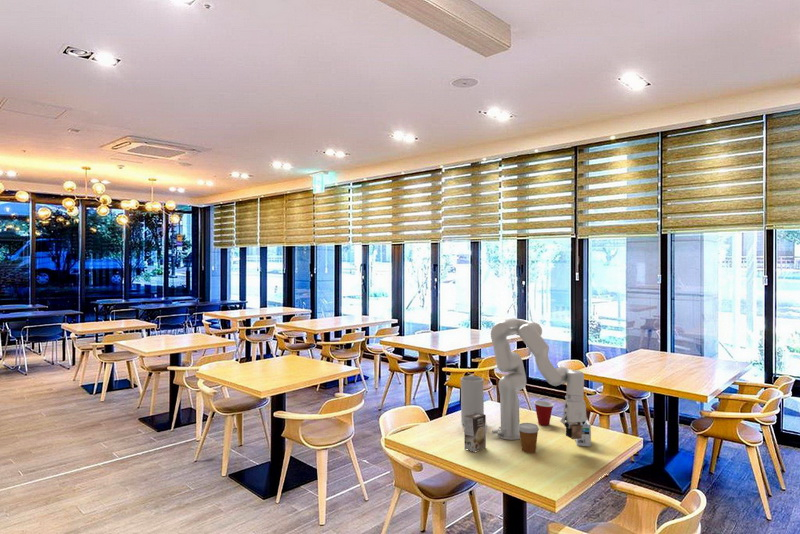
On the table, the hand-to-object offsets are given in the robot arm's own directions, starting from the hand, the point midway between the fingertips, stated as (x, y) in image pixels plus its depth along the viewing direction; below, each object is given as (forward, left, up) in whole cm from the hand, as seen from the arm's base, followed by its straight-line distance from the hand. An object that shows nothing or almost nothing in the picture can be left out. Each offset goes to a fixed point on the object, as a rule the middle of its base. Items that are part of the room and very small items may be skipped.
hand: (573, 435), depth 233 cm
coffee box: (-41, +20, -8) cm, 47 cm away
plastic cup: (+12, +39, -8) cm, 41 cm away
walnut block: (0, 0, -1) cm, 1 cm away
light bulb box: (+12, +8, -8) cm, 16 cm away
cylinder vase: (-24, +55, -8) cm, 61 cm away
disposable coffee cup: (-19, +8, -8) cm, 22 cm away
